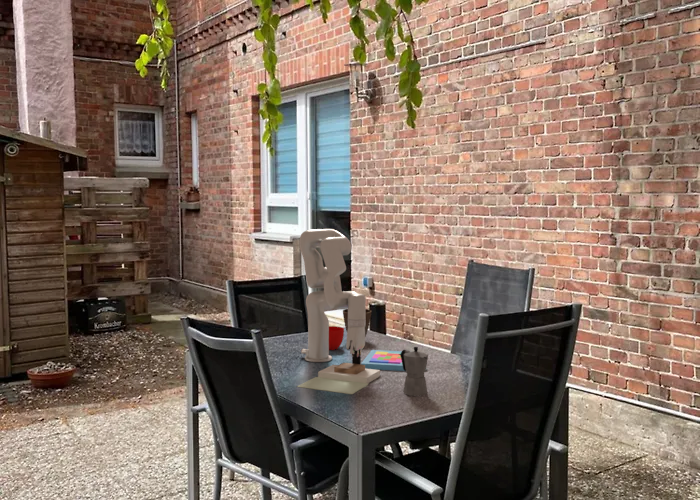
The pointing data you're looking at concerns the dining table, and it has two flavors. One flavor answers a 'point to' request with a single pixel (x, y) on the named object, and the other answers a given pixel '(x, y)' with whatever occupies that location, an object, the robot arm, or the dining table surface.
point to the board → (350, 375)
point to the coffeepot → (414, 372)
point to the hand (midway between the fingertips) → (356, 365)
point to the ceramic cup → (335, 337)
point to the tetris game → (383, 360)
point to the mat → (333, 385)
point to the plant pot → (368, 316)
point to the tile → (349, 368)
